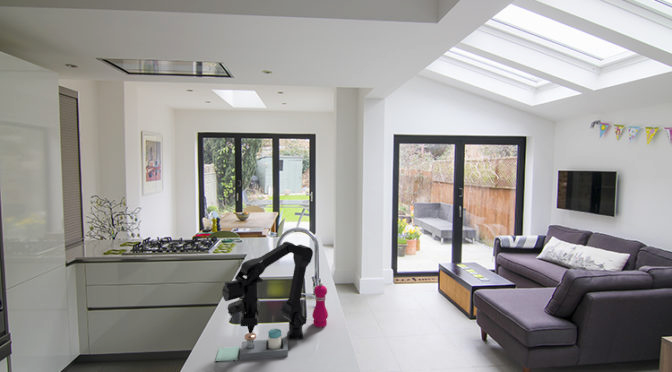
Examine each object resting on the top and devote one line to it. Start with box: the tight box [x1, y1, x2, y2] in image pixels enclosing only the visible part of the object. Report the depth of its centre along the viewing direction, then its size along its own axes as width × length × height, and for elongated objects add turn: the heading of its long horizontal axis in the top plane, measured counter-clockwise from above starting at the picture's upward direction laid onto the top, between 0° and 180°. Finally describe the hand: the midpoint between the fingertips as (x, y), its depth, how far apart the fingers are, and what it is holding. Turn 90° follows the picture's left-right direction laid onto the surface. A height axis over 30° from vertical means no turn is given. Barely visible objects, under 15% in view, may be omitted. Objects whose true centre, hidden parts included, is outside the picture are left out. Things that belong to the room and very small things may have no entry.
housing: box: [239, 337, 289, 361], centre depth 140 cm, size 9×18×2 cm, turn 100°
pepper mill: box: [312, 282, 329, 328], centre depth 163 cm, size 7×7×20 cm
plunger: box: [244, 332, 257, 349], centre depth 139 cm, size 4×4×6 cm
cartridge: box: [267, 328, 282, 350], centre depth 140 cm, size 5×5×8 cm
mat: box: [214, 346, 241, 363], centre depth 137 cm, size 9×8×1 cm
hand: (250, 332), depth 138 cm, fingers closed
